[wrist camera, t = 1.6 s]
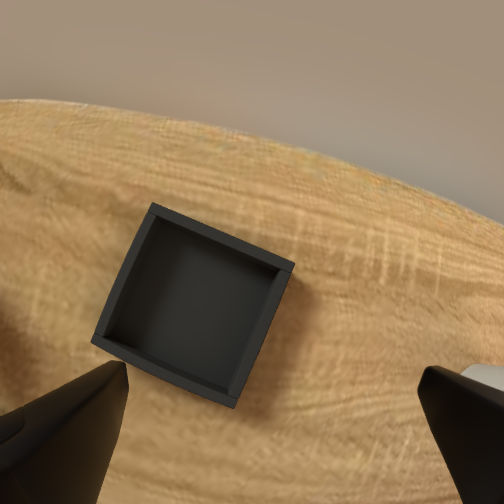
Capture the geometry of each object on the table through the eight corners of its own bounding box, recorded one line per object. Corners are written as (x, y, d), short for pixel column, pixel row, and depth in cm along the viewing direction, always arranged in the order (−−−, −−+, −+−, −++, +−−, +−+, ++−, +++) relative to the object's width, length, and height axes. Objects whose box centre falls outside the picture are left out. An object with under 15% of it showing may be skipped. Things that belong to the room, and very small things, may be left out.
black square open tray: (232, 399, 23) (233, 409, 20) (102, 339, 23) (90, 342, 20) (287, 268, 25) (295, 262, 23) (158, 212, 25) (152, 201, 23)
